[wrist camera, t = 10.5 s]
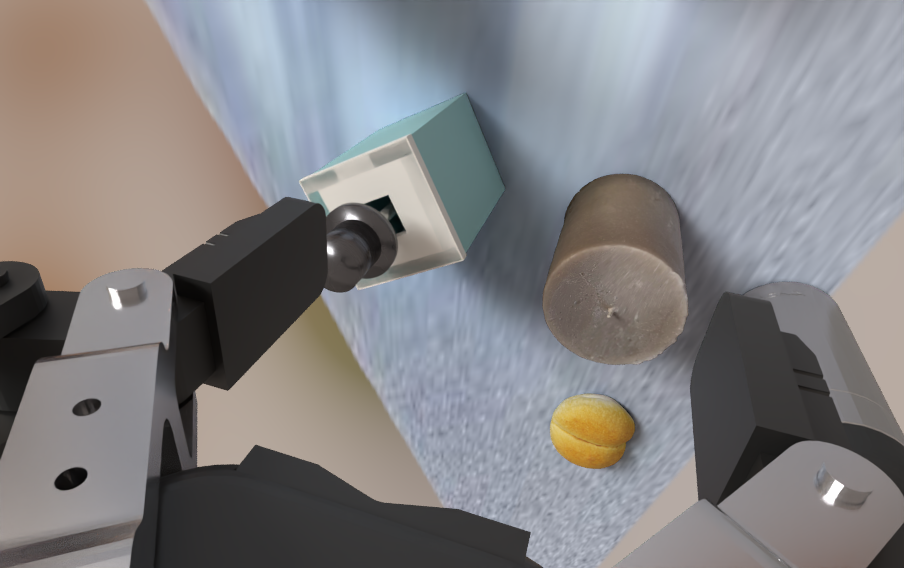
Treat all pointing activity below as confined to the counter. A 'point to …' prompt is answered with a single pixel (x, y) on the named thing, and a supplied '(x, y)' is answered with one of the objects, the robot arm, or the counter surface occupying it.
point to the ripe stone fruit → (591, 430)
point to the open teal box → (418, 185)
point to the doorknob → (358, 244)
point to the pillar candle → (618, 273)
